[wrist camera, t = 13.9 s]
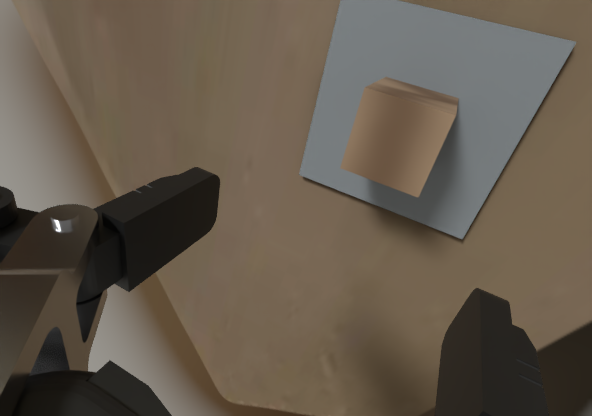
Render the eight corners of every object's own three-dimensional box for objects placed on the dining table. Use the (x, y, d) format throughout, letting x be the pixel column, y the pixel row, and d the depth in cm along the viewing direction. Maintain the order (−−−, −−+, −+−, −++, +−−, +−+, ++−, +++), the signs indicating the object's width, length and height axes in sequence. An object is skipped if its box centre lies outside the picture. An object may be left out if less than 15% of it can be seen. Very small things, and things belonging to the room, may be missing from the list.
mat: (573, 41, 20) (576, 41, 19) (462, 235, 27) (462, 239, 26) (346, -12, 23) (343, -13, 23) (301, 172, 31) (298, 174, 30)
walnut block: (458, 98, 23) (456, 115, 18) (427, 166, 25) (418, 197, 20) (385, 76, 24) (364, 87, 19) (363, 143, 27) (340, 168, 22)
